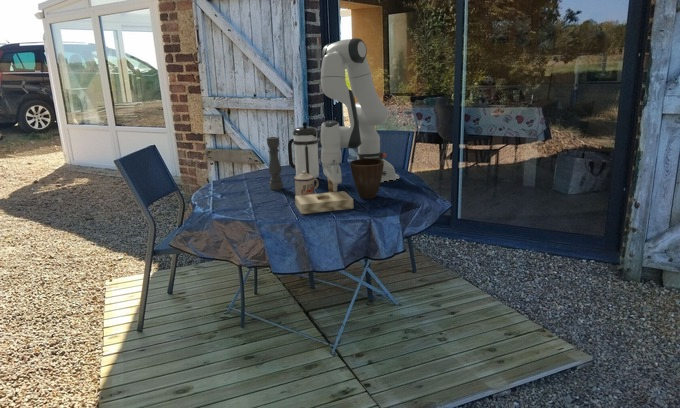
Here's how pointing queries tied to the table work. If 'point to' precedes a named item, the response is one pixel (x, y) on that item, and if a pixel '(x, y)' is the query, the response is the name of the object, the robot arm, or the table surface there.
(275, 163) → the candle holder
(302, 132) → the coffee press
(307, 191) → the teacup with lid
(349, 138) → the robot arm
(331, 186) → the peg
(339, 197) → the block
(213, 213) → the table surface
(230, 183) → the table surface
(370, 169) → the plant pot
